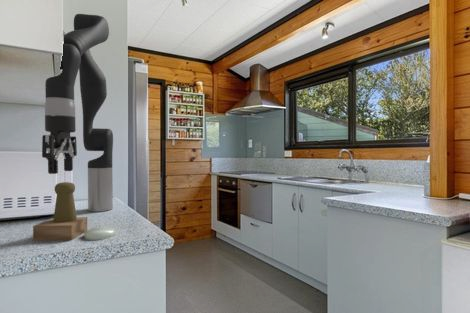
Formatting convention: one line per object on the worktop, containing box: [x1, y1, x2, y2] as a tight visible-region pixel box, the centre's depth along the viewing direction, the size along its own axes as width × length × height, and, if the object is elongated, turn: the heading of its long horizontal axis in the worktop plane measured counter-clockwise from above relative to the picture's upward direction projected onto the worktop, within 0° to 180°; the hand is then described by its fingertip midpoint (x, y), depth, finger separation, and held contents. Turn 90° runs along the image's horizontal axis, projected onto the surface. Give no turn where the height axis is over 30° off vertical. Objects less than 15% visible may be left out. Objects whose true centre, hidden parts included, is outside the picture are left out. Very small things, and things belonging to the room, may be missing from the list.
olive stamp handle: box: [53, 181, 78, 222], centre depth 87 cm, size 6×6×11 cm
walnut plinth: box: [32, 216, 88, 242], centre depth 86 cm, size 10×10×4 cm
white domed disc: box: [83, 226, 116, 241], centre depth 86 cm, size 8×8×2 cm
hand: (61, 172), depth 85 cm, fingers open, 8 cm apart
